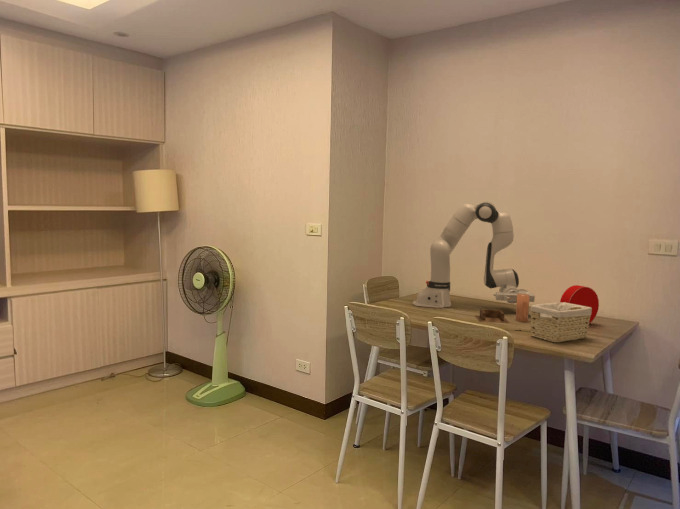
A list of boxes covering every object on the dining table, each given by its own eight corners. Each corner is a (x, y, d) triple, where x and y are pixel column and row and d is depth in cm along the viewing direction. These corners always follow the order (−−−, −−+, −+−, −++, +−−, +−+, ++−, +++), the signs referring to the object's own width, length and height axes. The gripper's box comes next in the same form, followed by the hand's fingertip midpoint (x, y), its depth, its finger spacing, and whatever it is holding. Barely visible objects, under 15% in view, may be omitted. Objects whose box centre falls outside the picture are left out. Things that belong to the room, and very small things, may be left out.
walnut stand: (479, 324, 260) (479, 313, 260) (474, 317, 275) (474, 307, 275) (510, 325, 259) (510, 315, 259) (503, 318, 274) (504, 309, 273)
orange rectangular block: (518, 324, 261) (519, 296, 259) (514, 320, 269) (515, 293, 268) (530, 324, 260) (532, 296, 259) (526, 320, 269) (527, 293, 267)
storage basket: (560, 331, 250) (562, 300, 249) (591, 339, 236) (594, 307, 235) (526, 336, 238) (528, 304, 237) (557, 345, 224) (559, 311, 223)
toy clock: (588, 322, 271) (590, 284, 269) (597, 325, 265) (600, 286, 263) (558, 324, 263) (560, 285, 262) (566, 327, 258) (569, 287, 256)
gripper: (492, 288, 289) (498, 292, 275) (530, 290, 287) (537, 294, 273) (492, 299, 290) (497, 304, 276) (530, 301, 288) (537, 306, 274)
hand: (517, 299), depth 275 cm, fingers open, 8 cm apart
